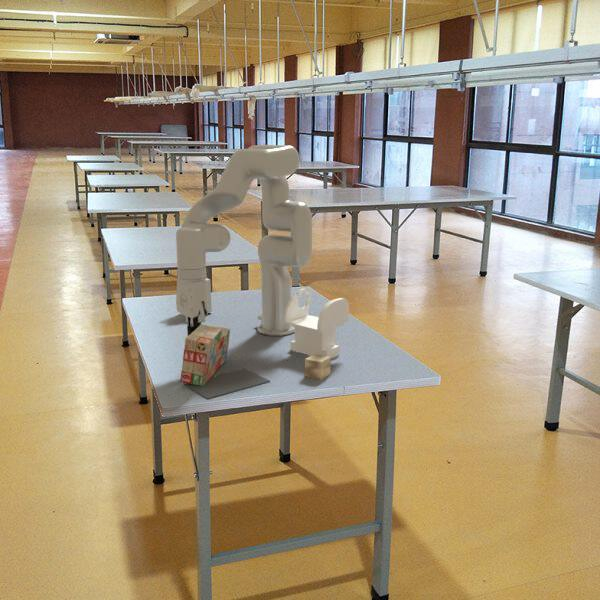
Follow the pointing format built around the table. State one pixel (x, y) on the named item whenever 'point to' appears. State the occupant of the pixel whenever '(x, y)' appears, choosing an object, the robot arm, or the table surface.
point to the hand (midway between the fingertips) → (194, 339)
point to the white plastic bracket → (316, 325)
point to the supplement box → (209, 294)
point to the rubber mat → (228, 383)
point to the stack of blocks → (204, 353)
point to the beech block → (317, 366)
